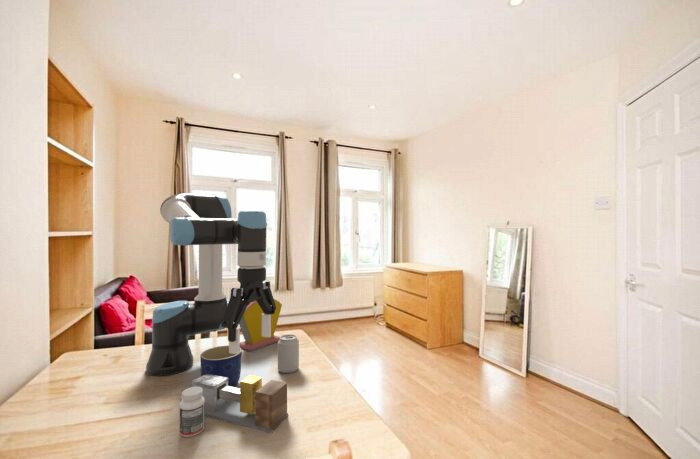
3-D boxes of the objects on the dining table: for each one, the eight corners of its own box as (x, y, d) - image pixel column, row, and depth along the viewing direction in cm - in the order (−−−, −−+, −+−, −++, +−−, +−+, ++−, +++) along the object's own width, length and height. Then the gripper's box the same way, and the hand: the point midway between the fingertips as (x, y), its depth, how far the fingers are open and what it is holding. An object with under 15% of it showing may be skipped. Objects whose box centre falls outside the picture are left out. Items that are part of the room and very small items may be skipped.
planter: (249, 381, 105) (249, 348, 105) (220, 399, 94) (220, 362, 94) (222, 374, 110) (222, 343, 111) (191, 390, 99) (191, 355, 99)
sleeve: (191, 409, 89) (191, 381, 89) (206, 399, 94) (206, 373, 94) (214, 414, 86) (214, 386, 86) (228, 404, 91) (228, 377, 91)
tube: (201, 402, 88) (201, 373, 88) (212, 395, 92) (212, 368, 92) (268, 418, 81) (268, 387, 81) (277, 410, 84) (277, 380, 85)
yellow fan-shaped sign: (272, 335, 153) (272, 290, 153) (285, 339, 147) (285, 292, 148) (231, 349, 135) (232, 298, 135) (245, 353, 129) (245, 301, 130)
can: (301, 365, 118) (301, 333, 118) (295, 374, 110) (295, 340, 110) (281, 365, 118) (281, 332, 119) (274, 373, 111) (274, 339, 111)
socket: (254, 427, 80) (254, 391, 80) (270, 412, 87) (270, 379, 87) (272, 431, 79) (272, 395, 79) (287, 416, 85) (287, 382, 85)
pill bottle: (185, 424, 82) (185, 385, 82) (208, 423, 82) (208, 384, 82) (175, 438, 76) (175, 397, 76) (199, 437, 76) (199, 396, 76)
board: (187, 411, 87) (187, 409, 87) (209, 397, 95) (209, 395, 95) (271, 432, 78) (271, 430, 78) (288, 415, 86) (288, 413, 86)
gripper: (231, 273, 74) (230, 364, 74) (287, 263, 97) (287, 332, 97) (206, 271, 76) (205, 359, 76) (267, 262, 100) (266, 329, 100)
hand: (251, 344), depth 87 cm, fingers open, 13 cm apart
